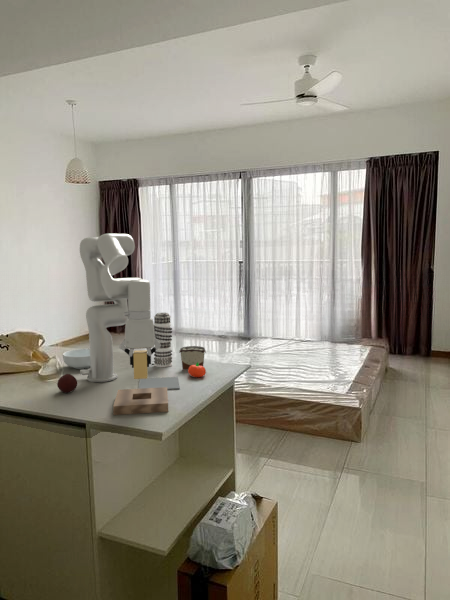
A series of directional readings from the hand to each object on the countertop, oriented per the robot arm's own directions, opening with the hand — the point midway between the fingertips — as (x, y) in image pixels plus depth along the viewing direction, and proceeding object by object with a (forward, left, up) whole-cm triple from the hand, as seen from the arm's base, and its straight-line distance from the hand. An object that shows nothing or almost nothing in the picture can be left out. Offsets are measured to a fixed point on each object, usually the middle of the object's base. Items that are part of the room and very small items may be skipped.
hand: (140, 366), depth 154 cm
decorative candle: (+8, +55, -14) cm, 57 cm away
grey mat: (+6, +23, -14) cm, 27 cm away
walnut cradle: (0, 0, -14) cm, 14 cm away
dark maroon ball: (-29, +19, -14) cm, 37 cm away
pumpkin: (+22, +32, -14) cm, 41 cm away
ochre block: (0, 0, -4) cm, 4 cm away
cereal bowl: (-30, +58, -14) cm, 66 cm away
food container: (+22, +46, -14) cm, 53 cm away
